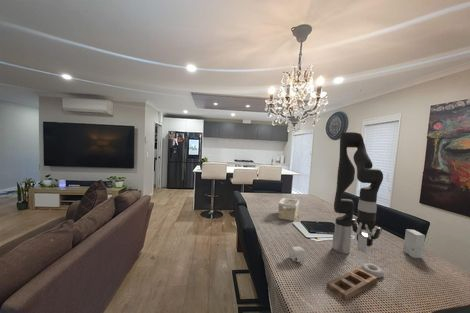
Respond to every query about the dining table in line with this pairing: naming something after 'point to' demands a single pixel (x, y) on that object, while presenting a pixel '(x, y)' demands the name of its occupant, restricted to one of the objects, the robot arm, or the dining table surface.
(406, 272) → the dining table surface
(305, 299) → the dining table surface
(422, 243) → the skincare box
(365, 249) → the silver metal block
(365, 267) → the donut
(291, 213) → the storage basket
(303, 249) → the elephant figurine
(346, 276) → the wooden compartment tray
